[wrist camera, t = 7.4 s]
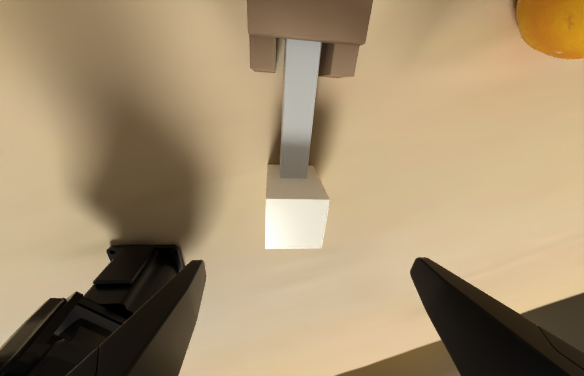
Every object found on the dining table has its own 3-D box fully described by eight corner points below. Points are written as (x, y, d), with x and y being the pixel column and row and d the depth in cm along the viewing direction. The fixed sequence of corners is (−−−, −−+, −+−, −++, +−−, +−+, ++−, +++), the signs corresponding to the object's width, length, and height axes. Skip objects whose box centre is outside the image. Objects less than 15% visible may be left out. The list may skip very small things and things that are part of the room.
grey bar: (308, 204, 20) (321, 248, 15) (267, 203, 20) (265, 248, 14) (339, -59, 12) (392, -171, 7) (271, -70, 12) (270, -197, 6)
